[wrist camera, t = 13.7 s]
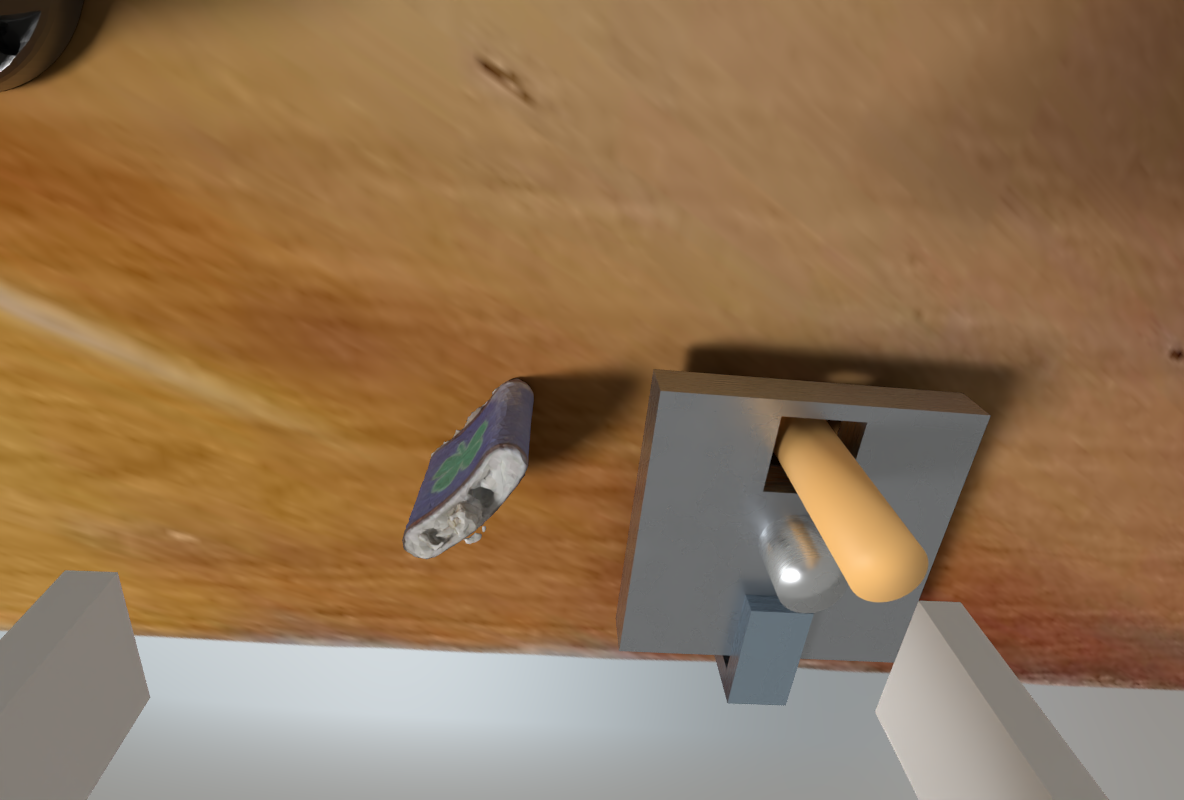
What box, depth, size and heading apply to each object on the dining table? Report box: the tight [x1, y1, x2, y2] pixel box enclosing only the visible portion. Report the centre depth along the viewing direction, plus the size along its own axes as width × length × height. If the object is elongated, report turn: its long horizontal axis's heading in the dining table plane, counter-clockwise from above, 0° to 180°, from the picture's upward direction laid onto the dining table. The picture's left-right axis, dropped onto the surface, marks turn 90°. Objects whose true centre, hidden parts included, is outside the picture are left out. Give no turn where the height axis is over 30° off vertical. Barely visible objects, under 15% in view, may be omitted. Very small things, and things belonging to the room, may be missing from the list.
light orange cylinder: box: [773, 416, 928, 602], centre depth 38 cm, size 4×4×16 cm
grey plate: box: [616, 369, 991, 705], centre depth 44 cm, size 22×19×10 cm
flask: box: [402, 378, 534, 559], centre depth 40 cm, size 9×3×11 cm, turn 135°
